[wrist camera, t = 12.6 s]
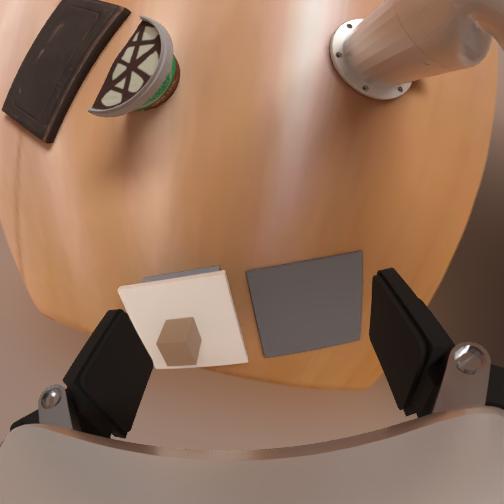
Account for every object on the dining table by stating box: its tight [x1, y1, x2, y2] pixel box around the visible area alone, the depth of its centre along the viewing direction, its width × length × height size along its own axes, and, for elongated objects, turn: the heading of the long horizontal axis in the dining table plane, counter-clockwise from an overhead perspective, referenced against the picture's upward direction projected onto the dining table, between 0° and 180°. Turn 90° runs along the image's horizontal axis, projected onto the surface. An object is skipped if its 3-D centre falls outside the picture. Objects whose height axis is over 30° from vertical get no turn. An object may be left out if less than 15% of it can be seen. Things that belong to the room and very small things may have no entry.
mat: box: [246, 251, 363, 358], centre depth 41 cm, size 17×17×1 cm
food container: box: [86, 16, 180, 117], centre depth 24 cm, size 12×6×10 cm, turn 150°
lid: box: [118, 270, 248, 369], centre depth 34 cm, size 15×15×6 cm
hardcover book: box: [2, 0, 131, 143], centre depth 25 cm, size 16×23×2 cm
